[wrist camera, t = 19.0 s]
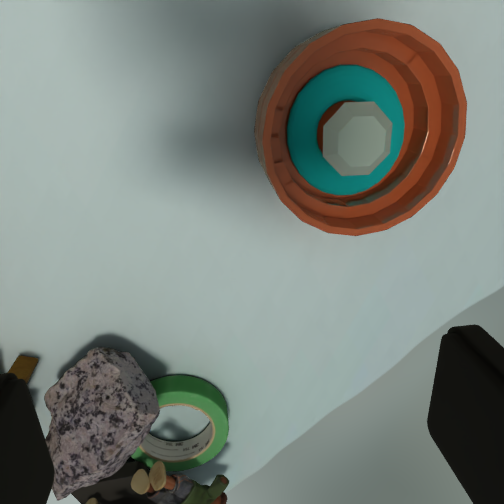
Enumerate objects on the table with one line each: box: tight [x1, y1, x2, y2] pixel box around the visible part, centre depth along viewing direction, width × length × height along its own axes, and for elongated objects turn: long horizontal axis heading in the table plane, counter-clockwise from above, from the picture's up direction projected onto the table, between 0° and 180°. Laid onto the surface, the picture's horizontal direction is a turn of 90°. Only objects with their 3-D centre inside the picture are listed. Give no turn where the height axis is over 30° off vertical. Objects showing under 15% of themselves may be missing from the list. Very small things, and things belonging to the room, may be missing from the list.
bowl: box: [254, 18, 467, 236], centre depth 33 cm, size 15×15×6 cm
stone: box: [44, 347, 160, 500], centre depth 40 cm, size 13×7×10 cm
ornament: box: [287, 65, 405, 195], centre depth 33 cm, size 11×4×10 cm
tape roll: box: [131, 375, 229, 471], centre depth 45 cm, size 11×11×3 cm
